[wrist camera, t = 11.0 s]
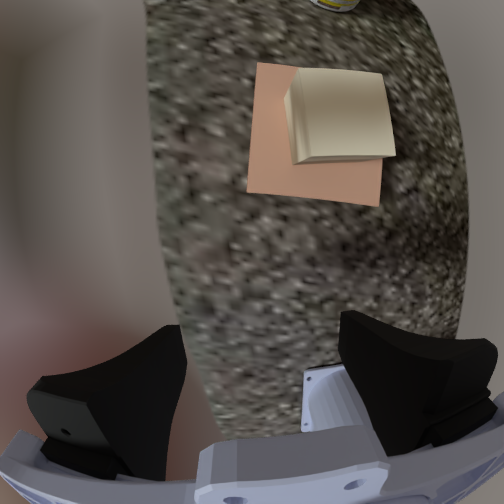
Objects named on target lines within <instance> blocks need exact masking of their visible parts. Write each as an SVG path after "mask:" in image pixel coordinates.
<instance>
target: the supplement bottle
mask: <svg viewBox="0 0 504 504" xmlns="http://www.w3.org/2000/svg"><path fill="white" fill-rule="evenodd" d="M310 1H311V2H313V3H314V4H316V5H318V6H320V7H322V8H324V9H327V10H331V11H338V12H343V11H349V10H351V9H353V8H354V7H356V5H357V4H358V3H359V1H360V0H310Z"/></svg>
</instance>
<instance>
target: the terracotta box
mask: <svg viewBox="0 0 504 504" xmlns="http://www.w3.org/2000/svg"><path fill="white" fill-rule="evenodd" d="M298 68H300V67H293V66H286V65H278V64H268V63H257V72H256V81H255V93H254V104H253V116H252V128H251V140H250V153H249V165H248V178H247V191H246V192H250V193H263V194H275V195H286V196H296V197H306V198H315V199H324V200H332V201H340V202H348V203H355V204H362V205H369V206H376V207H379V199H380V188H381V175H382V158H379V159H373V160H368V161H363V162H352V163H321V164H302V165H292V160H291V151H290V142H289V134H288V126H287V119H286V111H285V104H284V97H285V95H286V93H287V91H288V89H289V87H290V85H291V82H292V80H293V78H294V76H295V74H296V72H297V70H298Z"/></svg>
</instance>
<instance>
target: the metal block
mask: <svg viewBox="0 0 504 504" xmlns="http://www.w3.org/2000/svg"><path fill="white" fill-rule="evenodd" d="M284 104H285V111H286V119H287V126H288V134H289V142H290V151H291V160H292V165H302V164H321V163H352V162H363V161H368V160H373V159H379V158H385V157H391V156H396V152H395V144H394V137H393V130H392V123H391V117H390V112H389V106H388V101H387V96H386V91H385V87H384V82H383V78H382V74H377V73H369V72H361V71H351V70H340V69H323V68H298V70H297V72H296V74H295V76H294V78H293V80H292V82H291V85H290V87H289V89H288V91H287V93H286V95H285V97H284Z"/></svg>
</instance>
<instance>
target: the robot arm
mask: <svg viewBox="0 0 504 504" xmlns="http://www.w3.org/2000/svg"><path fill="white" fill-rule="evenodd" d="M338 351H339V354H340V357H341V360H342V363H343V364H339V365H333V366H327V367H320V368H313V369H308V370H306V371H305V372H304V382H303V403H302V420H301V431H302V432H307V433H300V434H292V435H284V436H274V437H262V438H246V439H234V440H228V441H222V442H217V443H214V444H212V445H211V446H209V447H207V448H206V449H204V450H202V451H201V452H200V456H199V463H198V471H197V478H196V479H192V480H179V481H165V476H166V462H167V452H168V444H169V436H170V430H171V424H172V419H173V416H174V412H175V409H176V406H177V403H178V400H179V397H180V393H181V390H182V387H183V384H184V380H185V375H186V368H187V358H186V354H185V349H184V344H183V340H182V335H181V330H180V325H166V326H164V327H162V328H161V329H159V330H158V331H156V332H155V333H153V334H152V335H150V336H149V337H147V338H146V339H145V340H143V341H142V342H140V343H139V344H137V345H135V346H134V347H132V348H131V349H129V350H127V351H126V352H124V353H122V354H121V355H119V356H117V357H115V358H113V359H110V360H108V361H106V362H103V363H101V364H98V365H95V366H92V367H90V368H87V369H83V370H79V371H75V372H71V373H65V374H59V375H51V376H42V377H41V378H40V380H38V382H37V383H36V384H35V385H34V386H33V387H32V388H31V390H30V391H29V392H28V393H27V403H28V406H29V409H30V411H31V412H32V414H33V416H34V417H35V419H36V420H37V422H38V423H39V425H40V426H41V428H42V429H43V431H44V432H45V434H46V435H47V436H48V438H47V440H46V441H45V442H44V441H42V440H41V439H40V438H38V437H37V436H34V435H32V434H29V433H28V432H25V431H23V430H19V431H18V432H17V434H16V435H15V437H14V438H13V439H12V441H11V442H10V443H9V445H8V446H7V448H6V449H5V451H4V452H3V454H2V455H1V456H0V475H1V476H2V477H3V478H4V479H5V480H6V481H7V482H8V483H9V484H10V485H11V486H12V487H13V488H14V489H15V490H16V491H17V492H18V493H19V494H21V495H22V496H23V497H24V498H25V499H26V500H27V501H29V502H30V503H31V504H456V503H457V502H459V501H460V500H462V499H463V498H465V497H466V496H468V495H469V494H470V493H472V492H473V491H475V490H476V489H477V488H478V487H480V486H481V485H483V484H484V483H485V482H486V481H488V480H489V479H490V478H491V477H493V476H494V475H495V474H496V473H498V472H499V471H500V470H501V469H502V468H504V392H502V393H501V394H499V395H498V396H497V397H496V398H495V399H494V400H493V402H492V401H491V400H490V399H489V398H488V397H489V396H490V394H491V392H490V390H488V388H487V385H488V383H489V381H490V378H491V376H492V374H493V371H494V369H495V366H496V363H497V358H498V351H497V348H496V346H495V345H494V344H492V343H491V342H490V341H488V340H487V339H485V338H482V339H466V340H458V339H442V338H435V337H428V336H423V335H419V334H415V333H411V332H408V331H404V330H402V329H399V328H396V327H393V326H391V325H388V324H386V323H383V322H381V321H379V320H376V319H374V318H372V317H370V316H367V315H365V314H363V313H360V312H358V311H355V310H351V311H343V312H341V317H340V331H339V343H338ZM308 377H311V378H309V379H307V378H308ZM308 431H311V432H308Z"/></svg>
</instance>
